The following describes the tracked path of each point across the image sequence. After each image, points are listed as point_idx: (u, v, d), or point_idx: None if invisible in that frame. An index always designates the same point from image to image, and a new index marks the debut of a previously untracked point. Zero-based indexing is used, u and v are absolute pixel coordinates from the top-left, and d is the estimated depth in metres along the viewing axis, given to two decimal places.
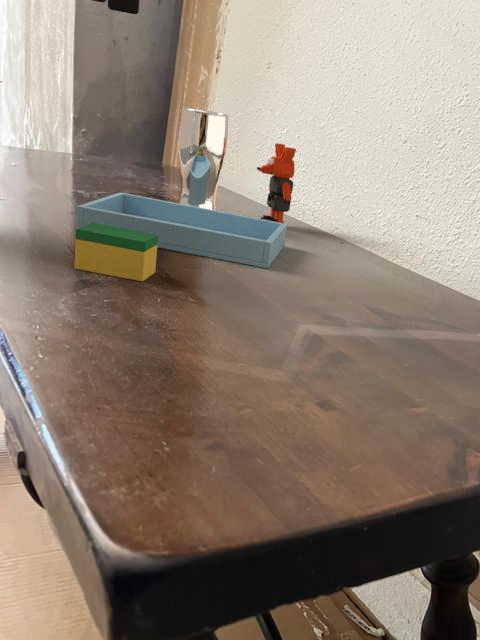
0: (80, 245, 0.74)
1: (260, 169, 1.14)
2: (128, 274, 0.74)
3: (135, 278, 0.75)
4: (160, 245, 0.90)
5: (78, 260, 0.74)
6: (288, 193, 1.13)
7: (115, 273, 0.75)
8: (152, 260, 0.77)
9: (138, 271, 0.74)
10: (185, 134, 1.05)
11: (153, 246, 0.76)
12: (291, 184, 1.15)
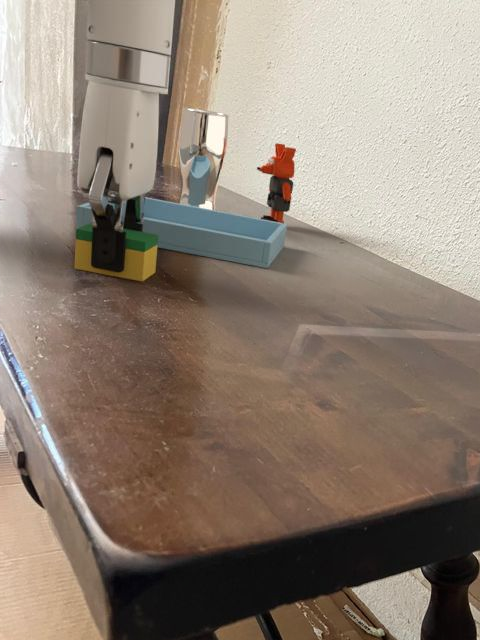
0: (80, 245, 0.74)
1: (260, 169, 1.14)
2: (128, 274, 0.74)
3: (135, 278, 0.75)
4: (160, 245, 0.90)
5: (78, 260, 0.74)
6: (288, 193, 1.13)
7: (115, 273, 0.75)
8: (152, 260, 0.77)
9: (138, 271, 0.74)
10: (185, 134, 1.05)
11: (153, 246, 0.76)
12: (291, 184, 1.15)
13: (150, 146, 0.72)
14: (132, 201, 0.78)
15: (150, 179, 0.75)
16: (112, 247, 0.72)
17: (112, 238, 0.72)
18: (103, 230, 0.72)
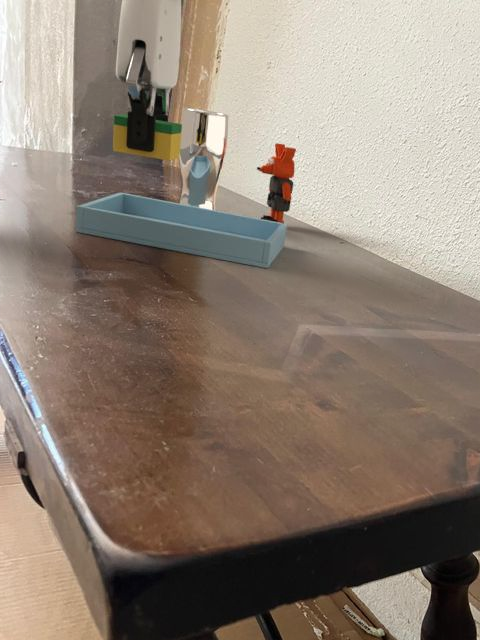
0: (118, 129, 0.88)
1: (260, 169, 1.14)
2: (158, 154, 0.89)
3: (163, 157, 0.89)
4: (160, 245, 0.90)
5: (116, 143, 0.89)
6: (288, 193, 1.13)
7: (147, 153, 0.89)
8: (177, 145, 0.91)
9: (166, 151, 0.89)
10: (185, 134, 1.05)
11: (178, 132, 0.91)
12: (291, 184, 1.15)
13: (175, 44, 0.87)
14: (159, 96, 0.92)
15: (174, 75, 0.90)
16: (144, 129, 0.87)
17: (144, 121, 0.86)
18: (137, 114, 0.86)
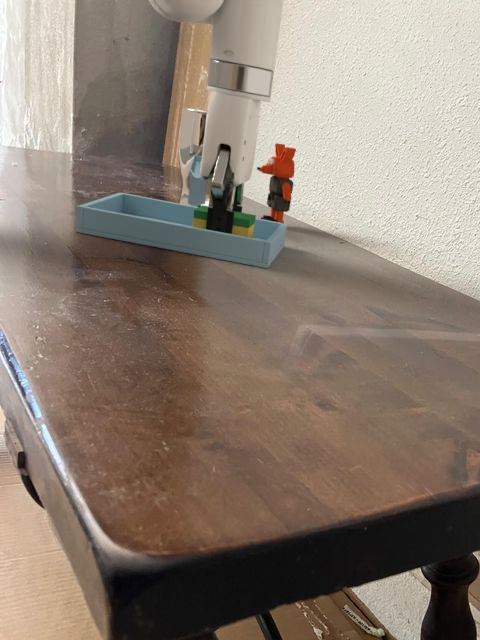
0: (197, 223, 0.92)
1: (260, 169, 1.14)
2: None
3: None
4: (160, 245, 0.90)
5: None
6: (288, 193, 1.13)
7: None
8: (251, 236, 0.95)
9: None
10: (185, 134, 1.05)
11: (253, 224, 0.94)
12: (291, 184, 1.15)
13: (254, 143, 0.90)
14: None
15: (250, 170, 0.93)
16: (223, 224, 0.90)
17: (224, 216, 0.90)
18: (217, 210, 0.90)
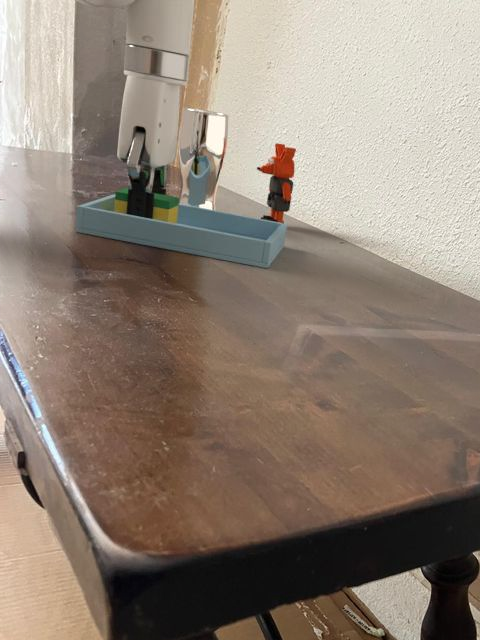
0: (118, 204, 0.94)
1: (260, 169, 1.14)
2: None
3: None
4: (160, 245, 0.90)
5: None
6: (288, 193, 1.13)
7: None
8: (174, 218, 0.97)
9: None
10: (185, 134, 1.05)
11: (175, 206, 0.97)
12: (291, 184, 1.15)
13: (173, 126, 0.93)
14: (157, 171, 0.98)
15: (172, 153, 0.96)
16: (143, 205, 0.93)
17: (143, 198, 0.92)
18: (136, 191, 0.92)
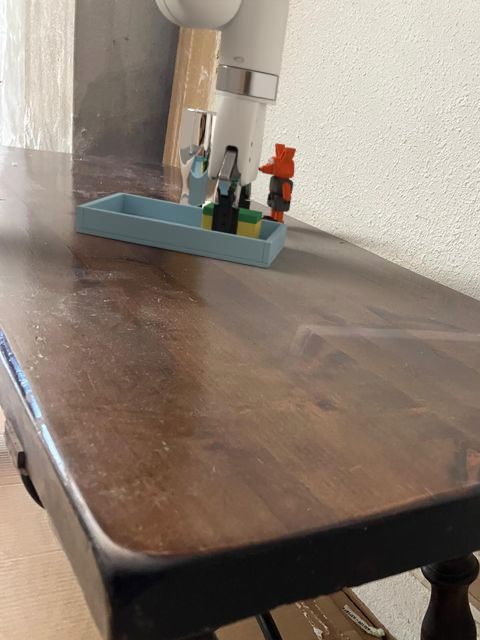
0: (206, 219, 0.95)
1: (260, 169, 1.14)
2: None
3: None
4: (160, 245, 0.90)
5: None
6: (288, 193, 1.13)
7: None
8: (258, 232, 0.99)
9: None
10: (185, 134, 1.05)
11: (259, 220, 0.98)
12: (291, 184, 1.15)
13: (260, 145, 0.94)
14: None
15: (256, 170, 0.97)
16: (229, 220, 0.93)
17: (229, 213, 0.92)
18: (223, 206, 0.92)
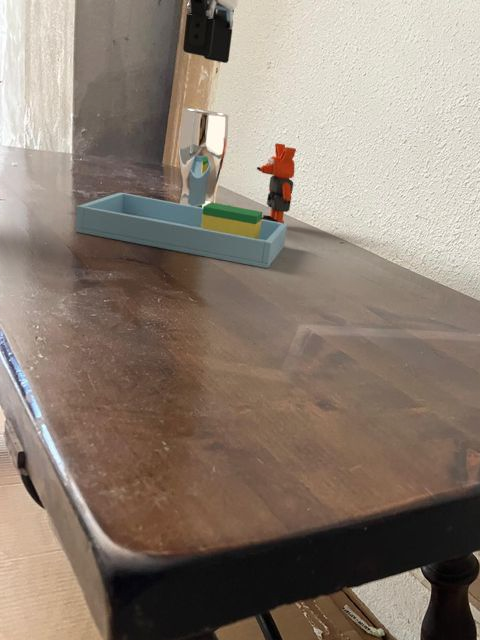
0: (206, 219, 0.95)
1: (260, 169, 1.14)
2: None
3: None
4: (160, 245, 0.90)
5: None
6: (288, 193, 1.13)
7: None
8: (258, 232, 0.99)
9: None
10: (185, 134, 1.05)
11: (259, 220, 0.98)
12: (291, 184, 1.15)
13: None
14: None
15: None
16: (202, 31, 0.86)
17: (203, 23, 0.86)
18: (196, 15, 0.85)
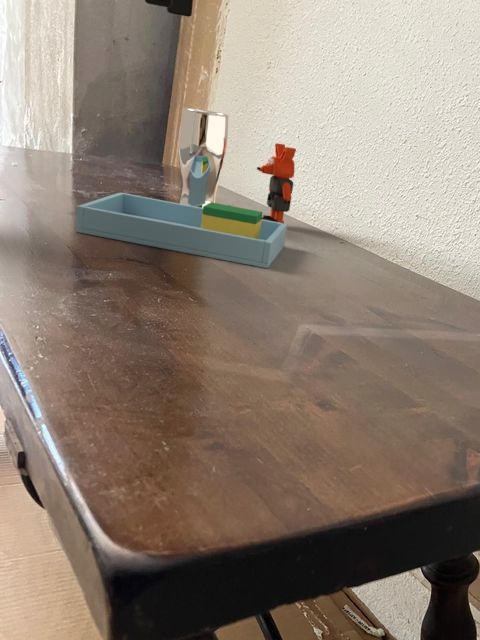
0: (206, 219, 0.95)
1: (260, 169, 1.14)
2: None
3: None
4: (160, 245, 0.90)
5: None
6: (288, 193, 1.13)
7: None
8: (258, 232, 0.99)
9: None
10: (185, 134, 1.05)
11: (259, 220, 0.98)
12: (291, 184, 1.15)
13: None
14: None
15: None
16: None
17: None
18: None
